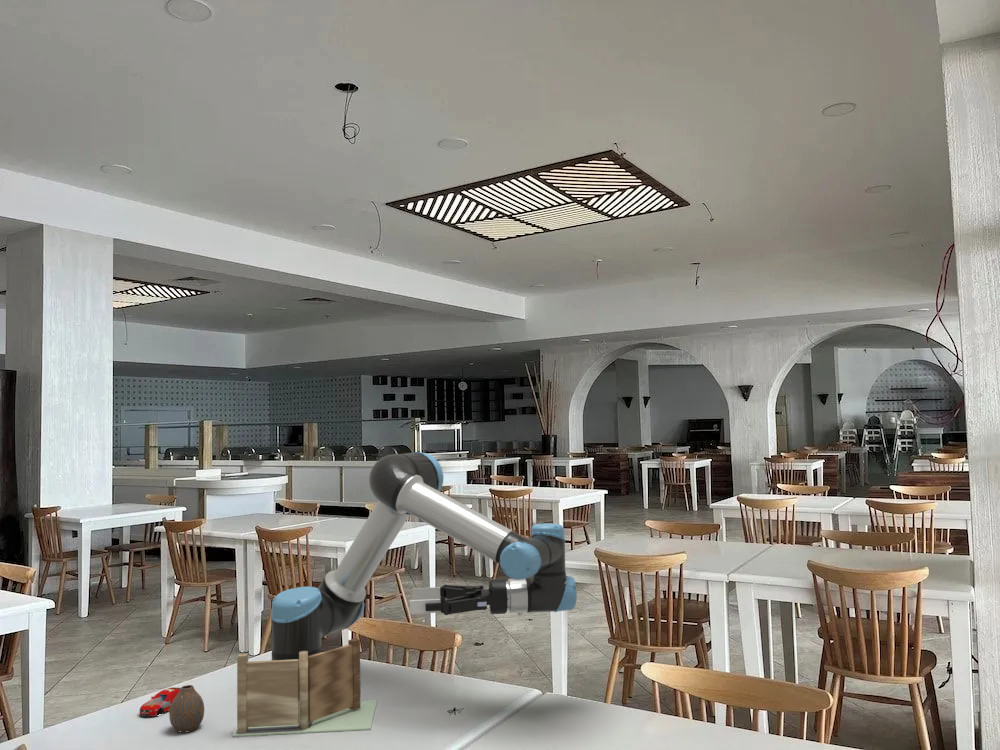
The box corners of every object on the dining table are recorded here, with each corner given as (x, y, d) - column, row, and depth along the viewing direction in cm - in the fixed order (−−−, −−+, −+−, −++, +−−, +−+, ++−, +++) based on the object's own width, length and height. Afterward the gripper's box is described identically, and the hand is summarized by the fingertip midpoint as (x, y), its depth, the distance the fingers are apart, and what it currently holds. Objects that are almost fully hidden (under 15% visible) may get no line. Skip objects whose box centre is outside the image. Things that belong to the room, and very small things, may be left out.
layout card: (252, 707, 178) (252, 706, 178) (376, 701, 180) (376, 699, 180) (232, 737, 161) (232, 735, 161) (370, 729, 163) (370, 727, 163)
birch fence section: (239, 730, 164) (239, 653, 165) (308, 726, 165) (308, 650, 166) (237, 733, 162) (237, 656, 163) (307, 729, 163) (307, 653, 164)
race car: (152, 721, 172) (152, 702, 172) (133, 718, 174) (133, 699, 174) (196, 700, 184) (196, 683, 184) (178, 698, 186) (178, 681, 186)
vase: (183, 737, 161) (183, 694, 162) (162, 731, 165) (162, 688, 165) (211, 726, 167) (211, 684, 168) (190, 720, 171) (190, 679, 171)
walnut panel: (311, 725, 164) (310, 653, 165) (306, 723, 165) (305, 652, 166) (360, 707, 174) (359, 639, 175) (355, 705, 175) (354, 638, 176)
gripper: (512, 626, 164) (409, 631, 162) (503, 601, 188) (413, 605, 186) (511, 590, 164) (408, 594, 162) (502, 569, 188) (412, 573, 187)
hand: (410, 600), depth 174 cm, fingers open, 12 cm apart
